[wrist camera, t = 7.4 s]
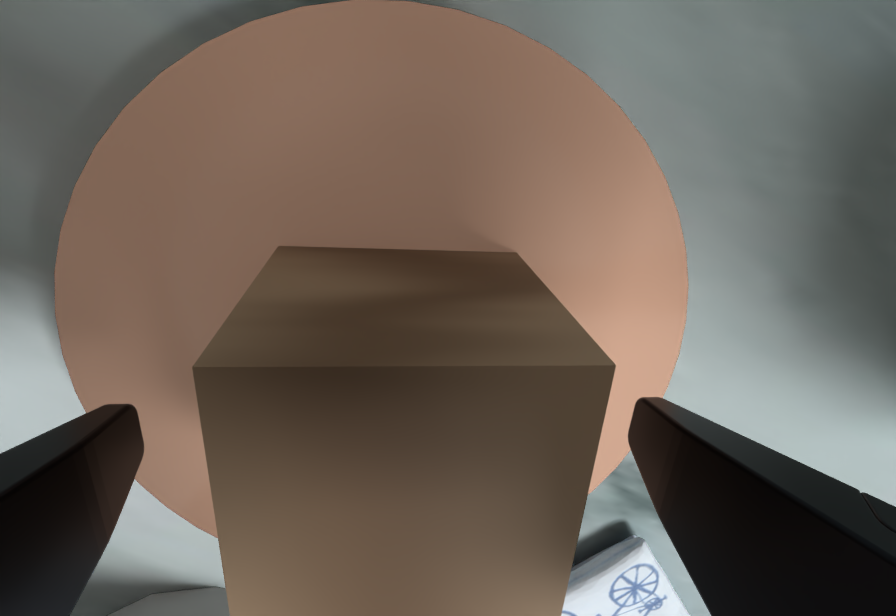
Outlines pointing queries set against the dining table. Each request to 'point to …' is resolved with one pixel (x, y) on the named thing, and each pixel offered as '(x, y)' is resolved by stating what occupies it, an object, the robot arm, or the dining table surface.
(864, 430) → the dining table surface
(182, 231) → the salmon pink disc
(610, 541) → the dining table surface
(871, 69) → the dining table surface
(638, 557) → the patterned cloth
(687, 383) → the dining table surface
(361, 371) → the walnut block
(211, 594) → the cup
